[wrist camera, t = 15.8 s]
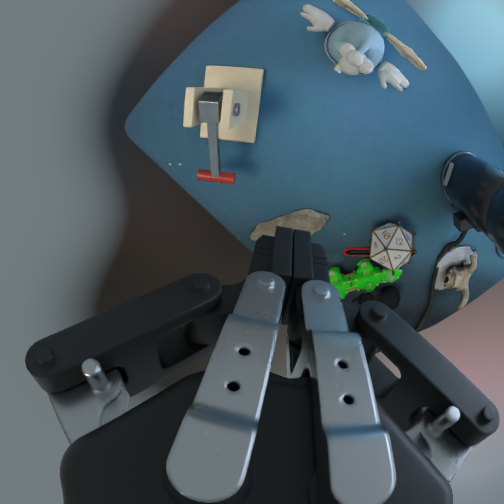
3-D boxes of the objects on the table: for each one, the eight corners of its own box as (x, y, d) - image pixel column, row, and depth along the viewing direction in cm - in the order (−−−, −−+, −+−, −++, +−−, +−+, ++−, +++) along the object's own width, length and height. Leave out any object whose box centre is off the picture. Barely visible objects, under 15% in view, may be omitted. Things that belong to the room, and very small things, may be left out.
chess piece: (382, 291, 52) (342, 293, 48) (396, 282, 48) (356, 283, 45) (387, 312, 50) (347, 317, 46) (403, 304, 46) (363, 308, 43)
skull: (477, 242, 43) (491, 255, 38) (467, 292, 47) (478, 308, 42) (436, 244, 45) (448, 257, 40) (428, 296, 50) (437, 313, 45)
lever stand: (255, 141, 40) (240, 162, 29) (202, 135, 40) (169, 155, 30) (264, 69, 34) (252, 60, 23) (208, 66, 34) (175, 58, 24)
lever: (236, 176, 39) (232, 189, 37) (201, 172, 39) (196, 184, 38) (236, 93, 27) (231, 103, 26) (192, 90, 27) (185, 100, 26)
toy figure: (278, 44, 32) (270, 18, 19) (320, -5, 26) (332, -47, 14) (373, 114, 35) (412, 129, 22) (412, 67, 30) (465, 63, 17)
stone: (247, 221, 48) (259, 243, 51) (244, 232, 46) (256, 254, 49) (324, 202, 43) (332, 226, 46) (325, 212, 41) (333, 237, 44)
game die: (381, 233, 49) (384, 287, 45) (352, 217, 45) (354, 276, 41) (422, 218, 41) (429, 276, 38) (396, 197, 37) (404, 263, 34)
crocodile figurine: (398, 275, 49) (405, 290, 45) (308, 299, 54) (309, 315, 50) (395, 246, 46) (402, 260, 42) (298, 272, 51) (298, 288, 47)
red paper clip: (342, 257, 48) (341, 255, 48) (415, 258, 45) (414, 256, 46) (343, 248, 47) (342, 246, 47) (418, 248, 44) (416, 247, 45)
